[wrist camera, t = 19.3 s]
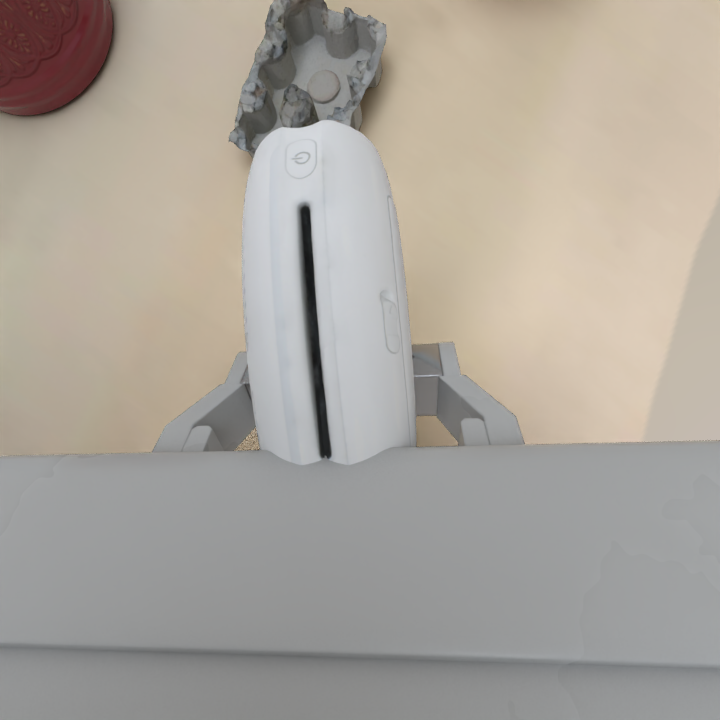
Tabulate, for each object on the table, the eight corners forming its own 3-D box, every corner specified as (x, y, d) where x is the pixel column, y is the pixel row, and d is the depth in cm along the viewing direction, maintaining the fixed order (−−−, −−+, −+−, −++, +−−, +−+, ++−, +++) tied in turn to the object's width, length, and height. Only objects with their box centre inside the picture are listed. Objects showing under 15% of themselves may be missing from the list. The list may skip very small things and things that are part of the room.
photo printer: (314, 259, 21) (193, 87, 9) (395, 249, 21) (388, 54, 8) (330, 455, 20) (224, 567, 8) (414, 449, 20) (436, 558, 8)
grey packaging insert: (302, 24, 28) (285, -38, 24) (399, 62, 27) (399, 4, 23) (234, 160, 28) (206, 122, 23) (330, 203, 27) (317, 170, 23)
